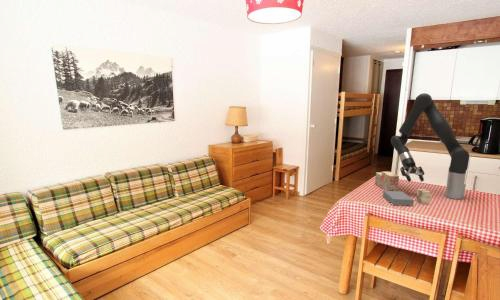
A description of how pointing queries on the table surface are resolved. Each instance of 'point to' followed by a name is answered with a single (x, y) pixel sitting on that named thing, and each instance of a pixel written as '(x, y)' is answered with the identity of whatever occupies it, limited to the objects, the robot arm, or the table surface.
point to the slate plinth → (398, 198)
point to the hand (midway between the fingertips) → (416, 181)
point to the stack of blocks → (387, 180)
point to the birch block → (423, 196)
